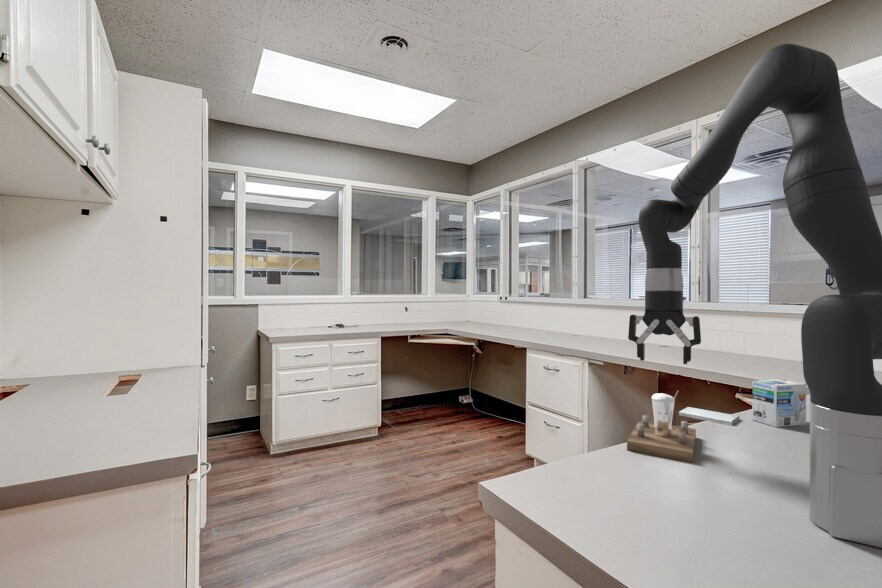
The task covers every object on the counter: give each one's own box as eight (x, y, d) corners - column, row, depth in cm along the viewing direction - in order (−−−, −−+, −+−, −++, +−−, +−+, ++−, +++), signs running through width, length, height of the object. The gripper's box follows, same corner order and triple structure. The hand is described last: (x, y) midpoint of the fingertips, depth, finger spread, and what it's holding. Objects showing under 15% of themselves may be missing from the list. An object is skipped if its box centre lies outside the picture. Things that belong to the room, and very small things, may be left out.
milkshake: (681, 439, 91) (681, 392, 91) (654, 437, 92) (655, 391, 92) (674, 432, 95) (674, 388, 95) (649, 430, 96) (649, 387, 97)
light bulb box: (776, 427, 107) (777, 385, 107) (750, 420, 113) (751, 380, 113) (807, 425, 109) (807, 383, 110) (780, 417, 116) (780, 378, 116)
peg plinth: (692, 462, 83) (692, 439, 83) (627, 449, 90) (627, 428, 90) (695, 437, 98) (695, 418, 98) (639, 428, 105) (639, 410, 105)
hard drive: (739, 415, 114) (688, 406, 123) (731, 421, 108) (678, 411, 117) (739, 421, 114) (688, 411, 123) (731, 428, 108) (678, 417, 117)
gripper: (626, 289, 95) (626, 361, 95) (700, 288, 87) (700, 367, 87) (631, 290, 101) (631, 357, 101) (701, 289, 94) (701, 362, 93)
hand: (663, 362), depth 94 cm, fingers open, 8 cm apart
